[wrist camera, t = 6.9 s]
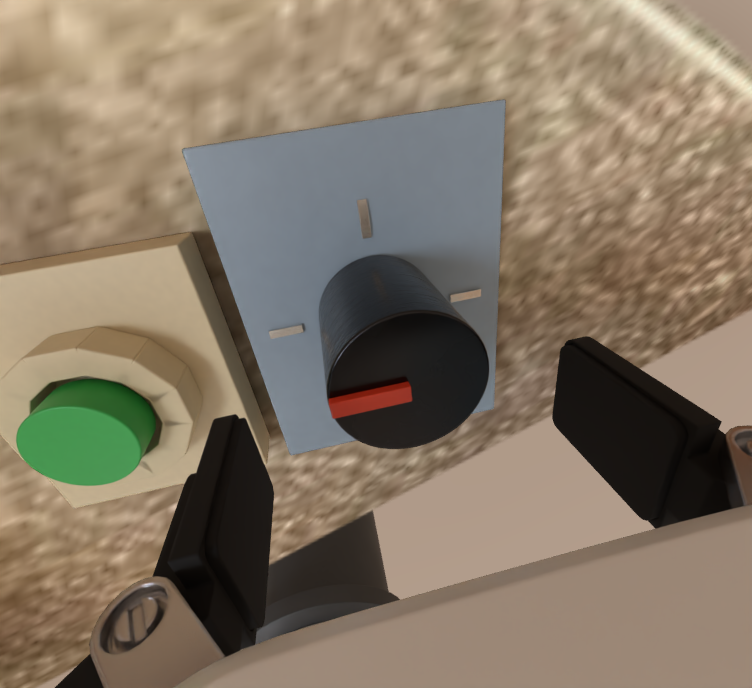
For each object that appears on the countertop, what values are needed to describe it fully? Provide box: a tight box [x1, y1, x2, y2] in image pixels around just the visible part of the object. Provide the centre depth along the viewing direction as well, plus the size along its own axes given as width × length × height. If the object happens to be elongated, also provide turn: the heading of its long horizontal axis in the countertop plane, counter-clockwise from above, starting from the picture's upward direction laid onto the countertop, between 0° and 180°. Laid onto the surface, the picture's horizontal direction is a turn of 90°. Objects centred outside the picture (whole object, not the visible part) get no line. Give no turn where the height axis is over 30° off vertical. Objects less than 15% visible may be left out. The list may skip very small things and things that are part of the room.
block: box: [0, 232, 270, 508], centre depth 17 cm, size 12×10×4 cm
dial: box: [319, 255, 489, 449], centre depth 13 cm, size 5×5×6 cm
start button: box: [16, 379, 156, 486], centre depth 14 cm, size 4×4×2 cm
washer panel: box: [182, 99, 506, 455], centre depth 17 cm, size 14×11×3 cm
